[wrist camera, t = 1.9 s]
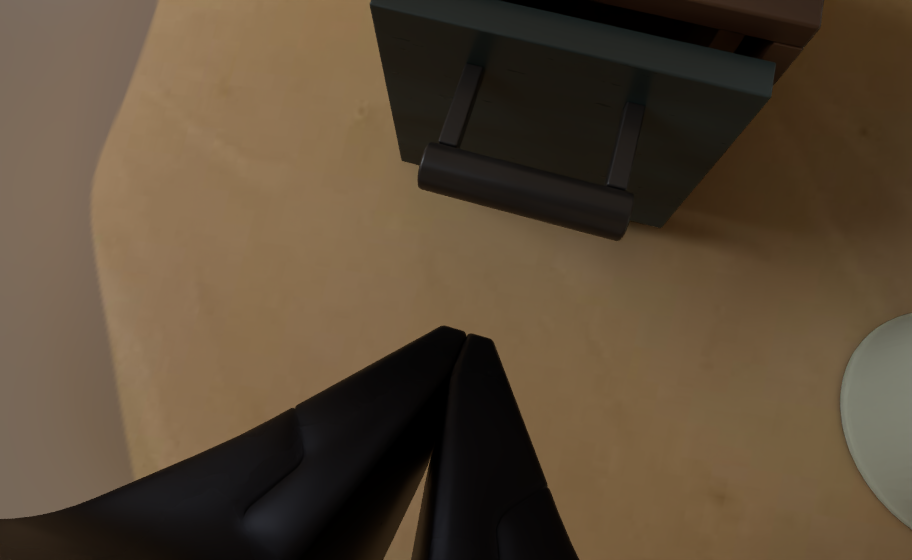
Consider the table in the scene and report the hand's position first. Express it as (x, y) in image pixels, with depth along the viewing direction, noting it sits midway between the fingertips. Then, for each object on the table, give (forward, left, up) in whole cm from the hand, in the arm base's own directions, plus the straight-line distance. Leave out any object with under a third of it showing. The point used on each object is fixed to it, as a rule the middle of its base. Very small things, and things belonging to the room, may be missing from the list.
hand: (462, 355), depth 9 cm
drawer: (+14, -2, -13) cm, 19 cm away
